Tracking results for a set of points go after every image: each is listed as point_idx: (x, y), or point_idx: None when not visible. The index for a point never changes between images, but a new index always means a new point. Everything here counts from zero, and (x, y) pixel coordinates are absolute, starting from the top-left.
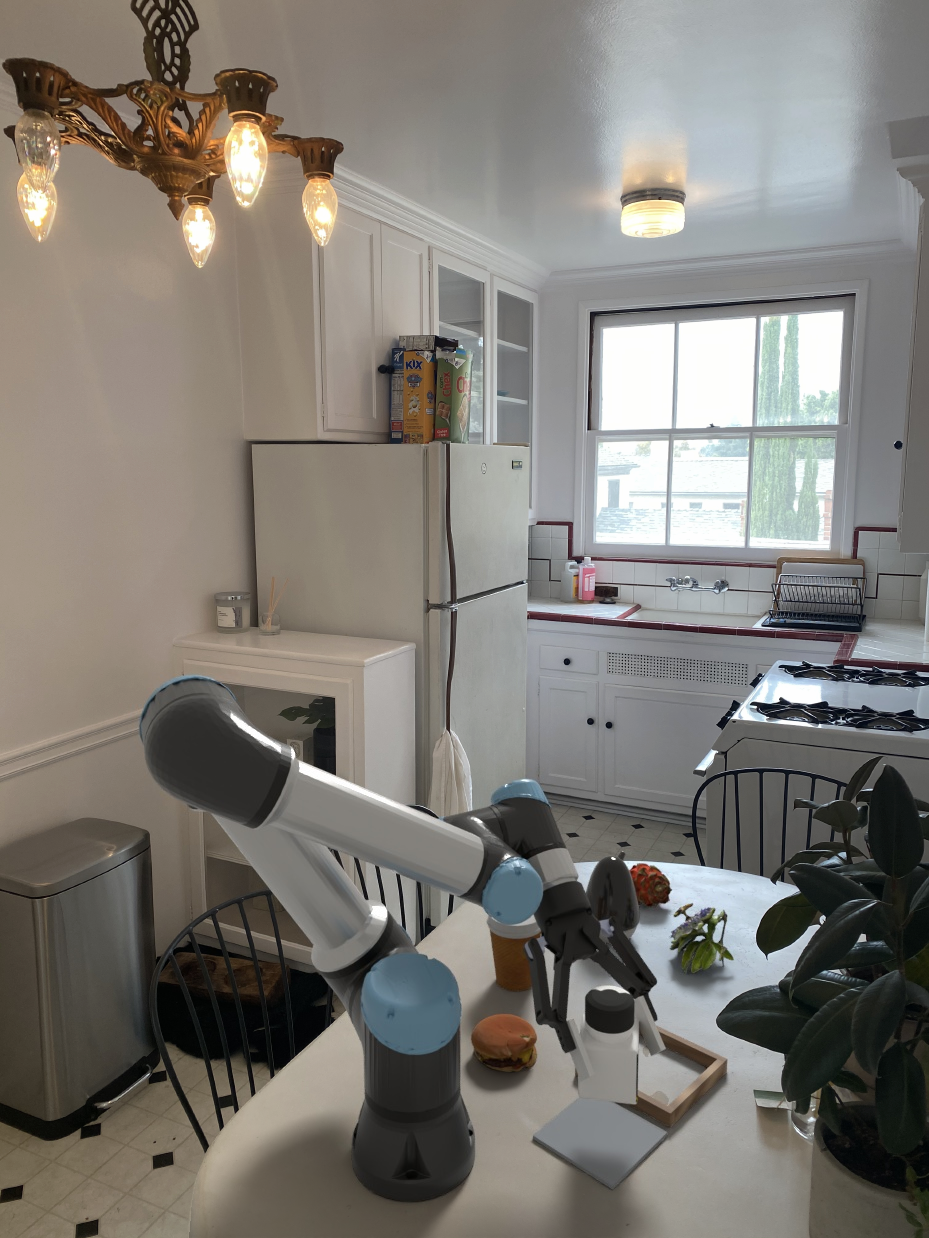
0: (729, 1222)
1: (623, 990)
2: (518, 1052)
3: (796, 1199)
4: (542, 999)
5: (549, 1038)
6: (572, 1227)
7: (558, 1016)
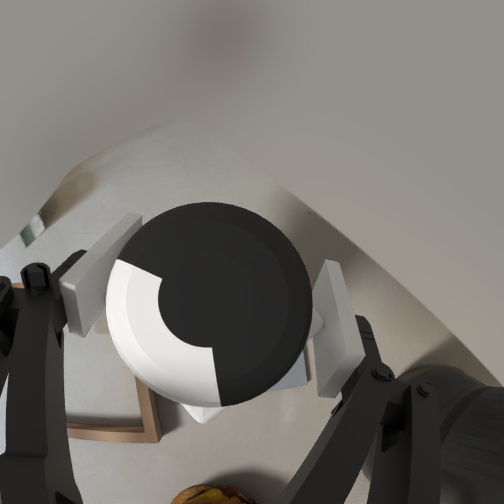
0: (220, 150)
1: (128, 283)
2: (228, 501)
3: (146, 130)
4: (434, 431)
5: (138, 501)
6: (359, 248)
7: (391, 376)
